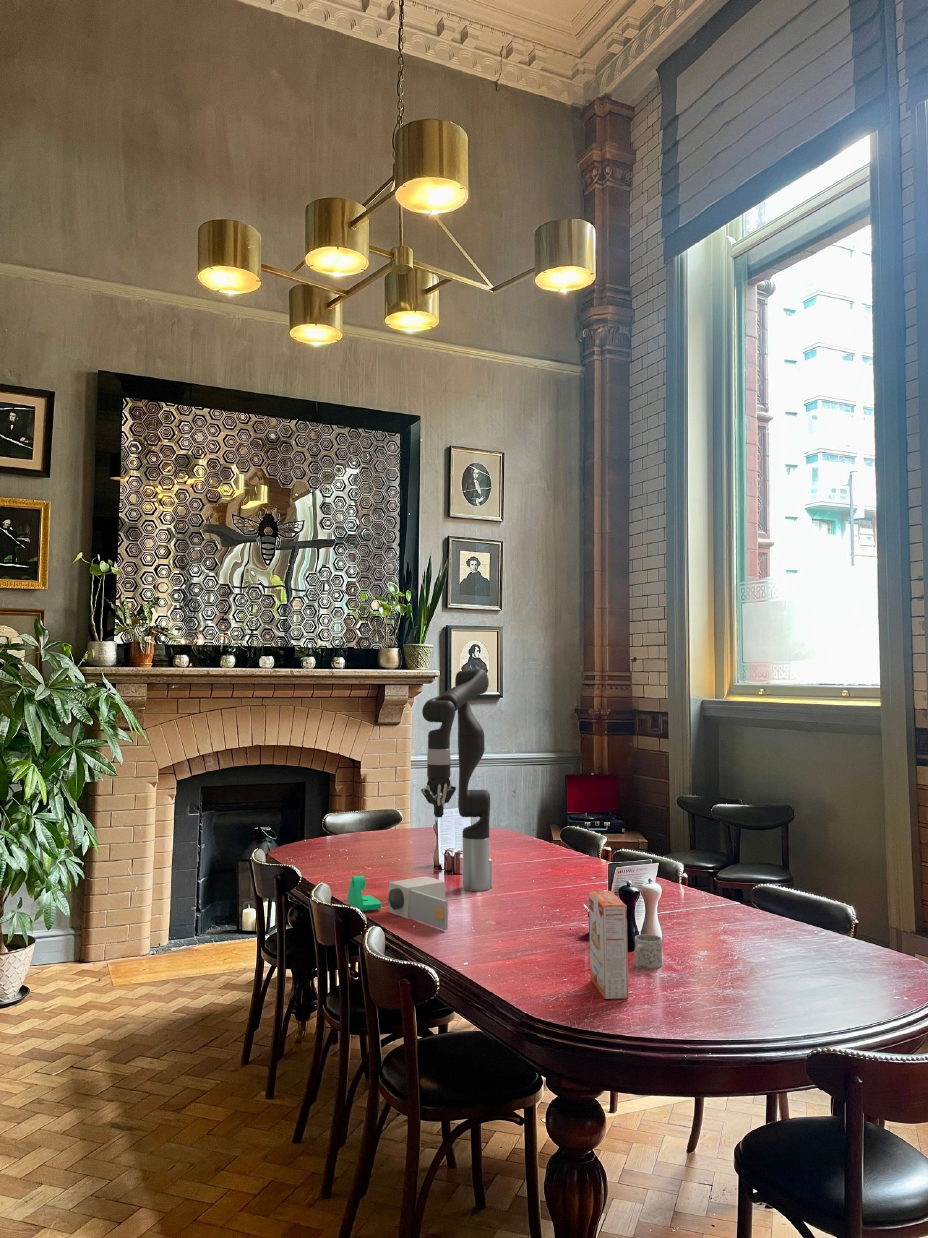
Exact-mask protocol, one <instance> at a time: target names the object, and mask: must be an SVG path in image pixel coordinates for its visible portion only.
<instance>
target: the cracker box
mask: <svg viewBox="0 0 928 1238" xmlns="http://www.w3.org/2000/svg"><path fill="white" fill-rule="evenodd" d="M588 905H589V906H588V908H589V909H588V914H589V967H590V968H589V970H590V972H589V973H590V980H591V982H592V983H593V985H594V986H595V988H596V989H597V991H598V992H599V994H600V995H601V997H602V996H603V997H602V998H603V1000H604V999H613V1000H628V999H629V974H628V973H629V972H628V971H629V968H628V967H629V966H628V960H629V959H628V958H629V957H628V915H627V914H628V913H627V911H628V907H627V905H626V904H625V903H624V901H622V900H621V899H620V898H619V897H618V896H617V895H616V894H615V893H614V892H613V891H612V890H604V891H602V890H601V891H600V890H594V891H588Z"/></svg>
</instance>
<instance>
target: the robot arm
mask: <svg viewBox="0 0 928 1238" xmlns="http://www.w3.org/2000/svg"><path fill="white" fill-rule="evenodd" d="M454 678H455V680H454V684H455V686H454V687H451V688H449V689H448V690H446V691H445V692H444V693H442V695H438V696H435V697H433V698H430V699H428V700H427V701H426V702H425V703H424V704H423V707H422V709H421V710H422V711H421V714H422V717H423V719H424V720H425V721H427V722H429V723H441V725H440V727H439V728H437V729H432V730H430V731H429V732H428V735H427V756H426V757H427V758H426V777H427V783H426V786H425V787H424V788H421V789H420V792H421V794H422V795H423V796H424V798H425V799H426V801H427V803H428V804H430V805H432V806H433V815H434V818H438V819H439V818H442V817H443V815H444V805H445V804H449V802H450V801H451V799H452V797H453V795H454V793H455V792H456V790H457V787H456V786H453V784H451V779H450V777H451V749H450V748H451V747H450V746H451V743H450V741H451V739H450V737H451V732H452V727H453V723H454V721H455V720H454V719H455V715H456V712H457V749H458V750H457V752H458V754H457V755H458V794H457V795H458V798H457V802H458V803H457V806H458V808H457V809H458V813H459V816H460V817H461V818H479V819H478V820H477V822H475V823H473V824H471V825H469V826H466V827H464V828H463V829H462V889H463V890H465V891H470V892H483V891H487V890H490V889H491V888H493V881H492V880H493V868H492V867H493V863H492V861H493V860H492V859H491V858H490V818H491V817H490V814H491V795H490V792H489V790H487V789H469V783H470V780H471V777H472V774H473V773H474V772H475V770H476V768H477V766H478V764H479V763H480V761H481V760H482V758H483V756H484V753H485V731H484V729H483V727H482V726H481V724H480V721H478V720H477V718H476V717H475V715H474V713H473V711H472V709H471V706H470V705H471V704H470V700H473V699H474V698H477V697H479V696H481V695H484V694H485V693H486V692H487V691H488V688H489V683H490V682H489V676H488V674H487V672H486V671H485V670H484V669H481V668H474V669H463V670H459V671H458V672H457V673H456V674H455V677H454Z"/></svg>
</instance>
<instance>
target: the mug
mask: <svg viewBox="0 0 928 1238" xmlns="http://www.w3.org/2000/svg"><path fill="white" fill-rule="evenodd" d="M633 950H634V951H633V962H634V966H635V967H636V968H640V969H645V970H658V969H660V968H662V967H663V939H662V937H661V936H659V935H655V934H646V933H643V934H637V935H635V936H634V949H633Z"/></svg>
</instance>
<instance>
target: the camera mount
mask: <svg viewBox="0 0 928 1238" xmlns="http://www.w3.org/2000/svg"><path fill="white" fill-rule="evenodd" d="M365 889H366V879H365V875H353V876H351V879H350V883H349V888H348V893H347V898H346V899H347V900H346V901H347V903H348V904H349V905H350V907H351V906H353V907H357V908H358V909H360V910H362V911H361V912H363V911H371V910H381V909H382V908H383V907H382V905H383V903H382V902H381V901H380V900H378V899H377V898H375V896H373V895H370V894H369V895H363V894H362V891H365Z"/></svg>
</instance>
